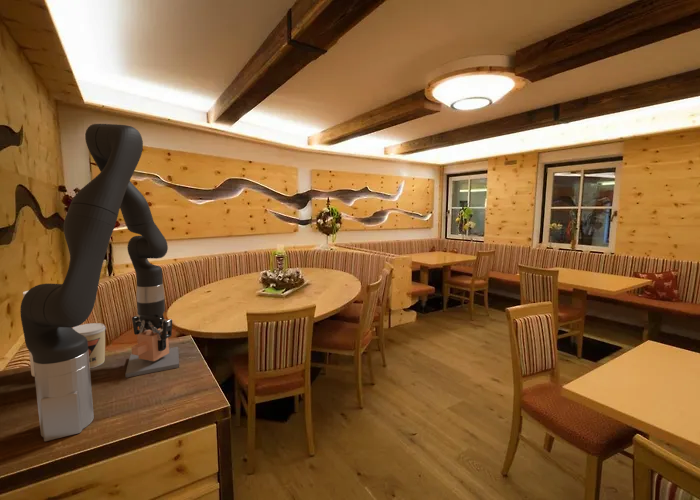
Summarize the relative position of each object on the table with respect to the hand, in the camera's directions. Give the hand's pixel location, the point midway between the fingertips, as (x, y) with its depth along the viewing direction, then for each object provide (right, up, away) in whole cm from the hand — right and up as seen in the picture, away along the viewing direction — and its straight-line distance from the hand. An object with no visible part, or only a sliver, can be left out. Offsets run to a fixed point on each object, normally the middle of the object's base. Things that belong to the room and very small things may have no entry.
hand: (153, 348), depth 103 cm
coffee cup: (-20, -5, -1) cm, 20 cm away
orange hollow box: (-1, -3, -1) cm, 3 cm away
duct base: (0, -5, +1) cm, 5 cm away
